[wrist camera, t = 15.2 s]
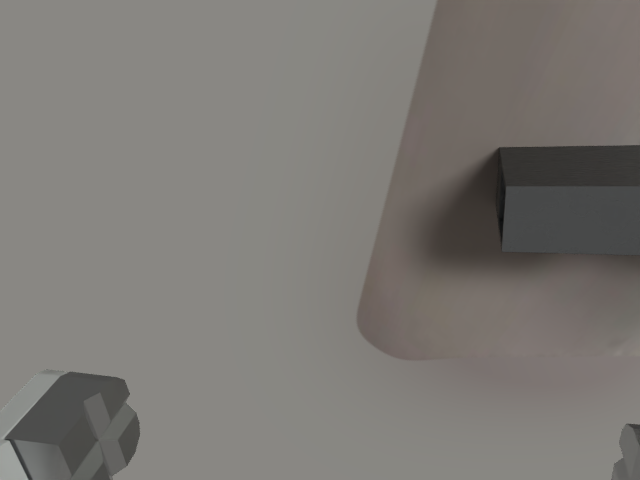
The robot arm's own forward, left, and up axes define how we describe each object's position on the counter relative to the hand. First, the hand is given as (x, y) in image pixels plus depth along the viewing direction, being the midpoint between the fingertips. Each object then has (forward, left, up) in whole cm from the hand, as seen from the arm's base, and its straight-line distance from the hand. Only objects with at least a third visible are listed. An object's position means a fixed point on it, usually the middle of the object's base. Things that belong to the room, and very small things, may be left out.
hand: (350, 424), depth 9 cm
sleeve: (+7, +14, -39) cm, 42 cm away
